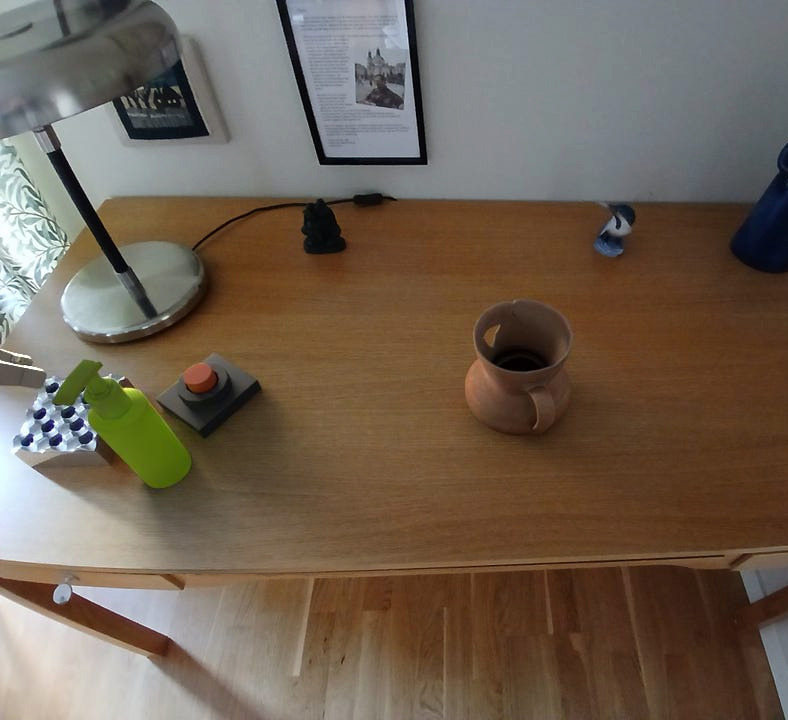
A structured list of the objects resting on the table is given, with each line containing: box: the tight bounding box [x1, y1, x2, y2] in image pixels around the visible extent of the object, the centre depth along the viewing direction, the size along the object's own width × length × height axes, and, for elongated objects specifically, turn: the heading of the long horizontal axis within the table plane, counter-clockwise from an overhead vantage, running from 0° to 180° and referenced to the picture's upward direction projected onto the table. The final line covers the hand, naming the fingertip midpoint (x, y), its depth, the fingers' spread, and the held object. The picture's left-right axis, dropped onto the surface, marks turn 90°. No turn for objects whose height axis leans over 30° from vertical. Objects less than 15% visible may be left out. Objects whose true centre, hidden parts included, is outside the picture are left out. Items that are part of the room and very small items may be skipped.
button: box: [183, 362, 217, 394], centre depth 74 cm, size 4×4×2 cm
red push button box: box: [154, 352, 263, 440], centre depth 76 cm, size 10×9×4 cm
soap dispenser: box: [51, 359, 193, 489], centre depth 63 cm, size 6×7×20 cm
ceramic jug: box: [464, 298, 574, 437], centre depth 72 cm, size 18×14×14 cm
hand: (36, 372), depth 57 cm, fingers open, 8 cm apart
